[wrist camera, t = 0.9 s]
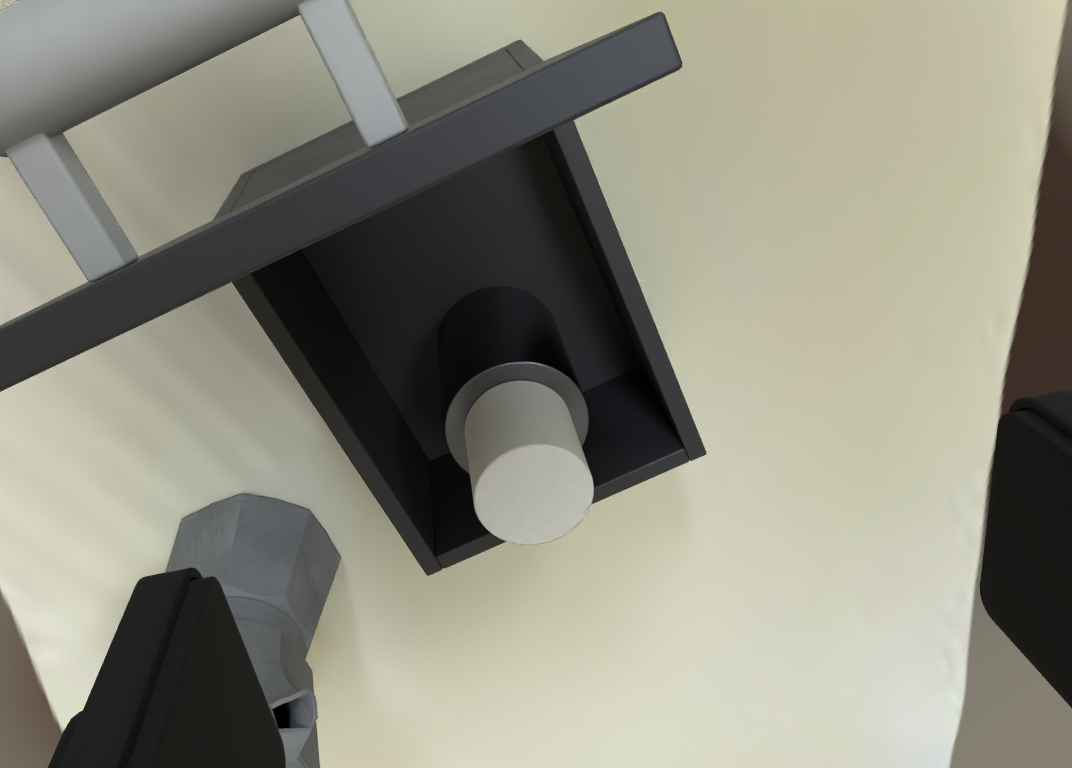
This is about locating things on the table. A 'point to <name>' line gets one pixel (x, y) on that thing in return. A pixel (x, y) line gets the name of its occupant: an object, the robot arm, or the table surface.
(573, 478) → the cylinder
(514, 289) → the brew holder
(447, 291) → the coffee maker
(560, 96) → the lid
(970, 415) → the table surface
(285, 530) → the coffeepot
